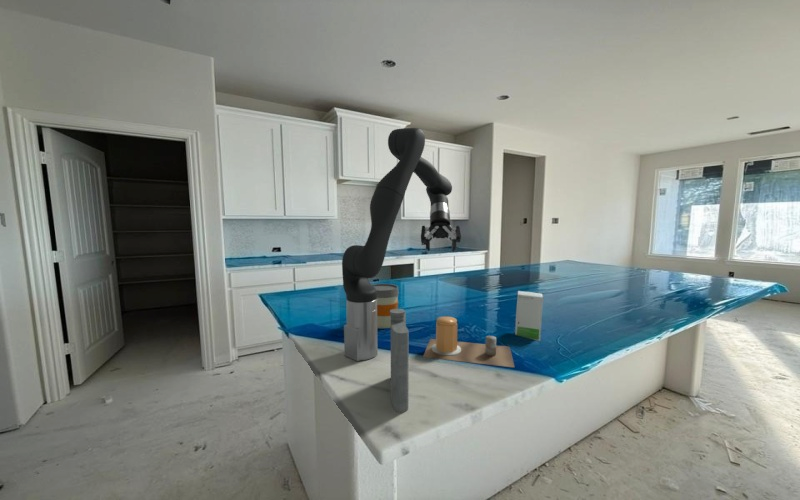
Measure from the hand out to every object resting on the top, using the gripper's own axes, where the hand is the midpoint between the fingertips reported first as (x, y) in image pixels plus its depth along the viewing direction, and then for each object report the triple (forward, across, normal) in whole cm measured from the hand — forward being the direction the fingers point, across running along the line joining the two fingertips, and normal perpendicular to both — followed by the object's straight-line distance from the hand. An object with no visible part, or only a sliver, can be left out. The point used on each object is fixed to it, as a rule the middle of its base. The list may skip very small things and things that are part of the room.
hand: (441, 249), depth 106 cm
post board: (+34, +8, +10) cm, 36 cm away
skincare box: (+21, +31, +22) cm, 44 cm away
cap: (+32, +1, +9) cm, 33 cm away
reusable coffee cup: (+15, -22, +28) cm, 39 cm away
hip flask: (+48, -12, -5) cm, 50 cm away
